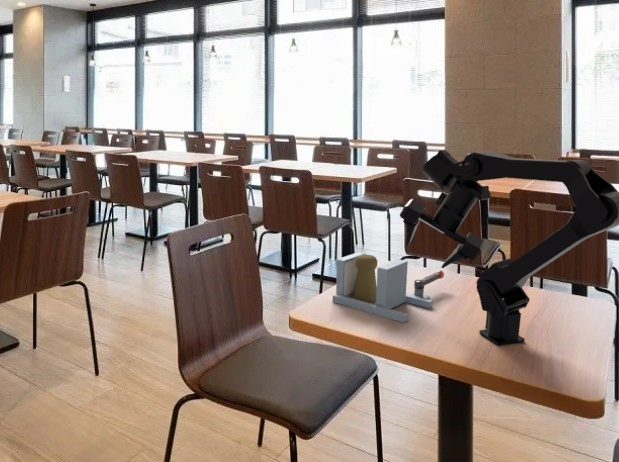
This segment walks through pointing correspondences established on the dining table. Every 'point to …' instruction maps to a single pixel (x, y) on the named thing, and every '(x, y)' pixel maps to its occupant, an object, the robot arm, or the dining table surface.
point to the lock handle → (428, 279)
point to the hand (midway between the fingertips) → (424, 256)
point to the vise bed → (348, 279)
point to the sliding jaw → (391, 284)
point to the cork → (365, 279)
